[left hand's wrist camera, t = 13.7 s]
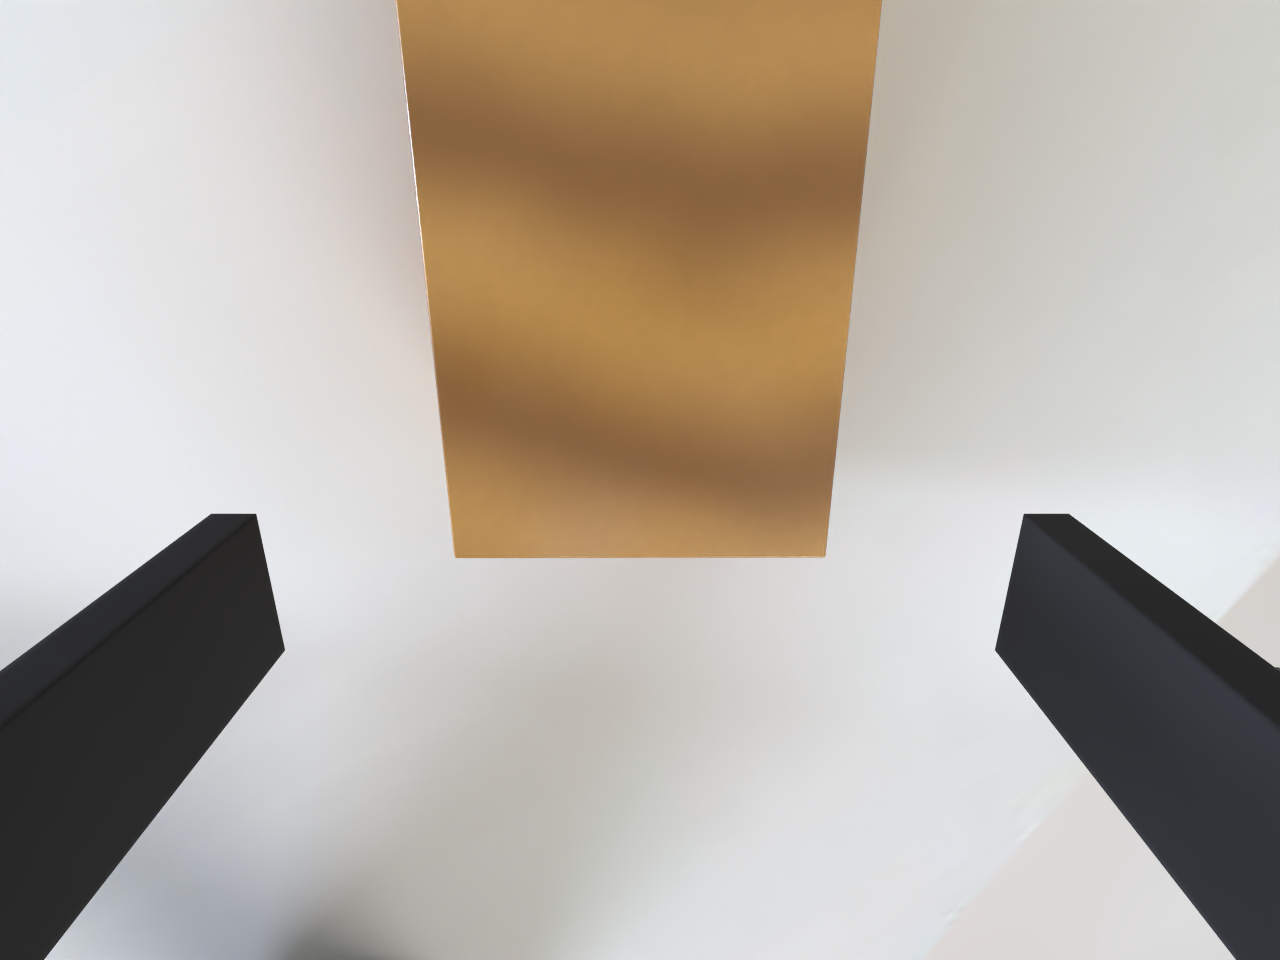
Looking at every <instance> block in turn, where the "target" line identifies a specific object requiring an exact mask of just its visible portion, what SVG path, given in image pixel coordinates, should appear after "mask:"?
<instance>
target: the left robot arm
mask: <svg viewBox="0 0 1280 960" xmlns="http://www.w3.org/2000/svg"><path fill="white" fill-rule="evenodd" d="M284 651H285V648H284V643H283V639H282V634H281V629H280V624H279V620H278V615H277V610H276V606H275V601H274V596H273V591H272V587H271V582H270V577H269V573H268V568H267V563H266V558H265V554H264V549H263V544H262V539H261V535H260V530H259V525H258V521H257V516H256V514H210V515H209V516H208V517H206V518H205V519H204V520H202V521H201V522H200V523H198V524H197V525H196V526H194V527H193V528H192V529H190V530H189V531H188V532H186V533H185V534H184V535H182V536H181V537H180V538H178V539H177V540H176V541H174V542H173V543H172V544H170V545H169V546H168V547H166V548H165V549H164V550H162V551H161V552H160V553H158V554H157V555H155V556H154V557H153V558H151V559H150V560H149V561H147V562H146V563H145V564H143V565H142V566H141V567H139V568H138V569H137V570H135V571H134V572H133V573H131V574H130V575H129V576H127V577H126V578H125V579H123V580H122V581H121V582H119V583H118V584H117V585H115V586H114V587H113V588H111V589H110V590H109V591H107V592H106V593H105V594H103V595H102V596H100V597H99V598H98V599H96V600H95V601H94V602H92V603H91V604H90V605H88V606H87V607H86V608H84V609H83V610H82V611H80V612H79V613H78V614H76V615H75V616H74V617H72V618H71V619H70V620H68V621H67V622H66V623H64V624H63V625H62V626H60V627H59V628H58V629H56V630H55V631H54V632H52V633H51V634H50V635H48V636H47V637H46V638H44V639H43V640H41V641H40V642H39V643H37V644H36V645H35V646H33V647H32V648H31V649H29V650H28V651H27V652H25V653H24V654H23V655H21V656H20V657H19V658H17V659H16V660H15V661H13V662H12V663H11V664H9V665H8V666H7V667H5V668H4V669H3V670H1V671H0V960H44V959H45V958H46V956H47V955H48V954H49V952H50V951H51V950H52V949H53V947H54V946H55V945H56V943H57V942H58V941H59V940H60V938H61V937H62V936H63V934H64V933H65V932H66V931H67V929H68V928H69V927H70V926H71V924H72V923H73V922H74V920H75V919H76V918H77V917H78V915H79V914H80V913H81V911H82V910H83V909H84V908H85V906H86V905H87V904H88V902H89V901H90V900H91V899H92V897H93V896H94V895H95V893H96V892H97V891H98V890H99V888H100V887H101V886H102V884H103V883H104V882H105V881H106V879H107V878H108V877H109V875H110V874H111V873H112V872H113V870H114V869H115V868H116V866H117V865H118V864H119V863H120V861H121V860H122V859H123V857H124V856H125V855H126V854H127V852H128V851H129V850H130V848H131V847H132V846H133V845H134V843H135V842H136V841H137V839H138V838H139V837H140V836H141V834H142V833H143V832H144V830H145V829H146V828H147V827H148V825H149V824H150V823H151V821H152V820H153V819H154V818H155V816H156V815H157V814H158V813H159V811H160V810H161V809H162V807H163V806H164V805H165V804H166V802H167V801H168V800H169V798H170V797H171V796H172V795H173V793H174V792H175V791H176V789H177V788H178V787H179V786H180V784H181V783H182V782H183V780H184V779H185V778H186V777H187V775H188V774H189V773H190V771H191V770H192V769H193V768H194V766H195V765H196V764H197V762H198V761H199V760H200V759H201V757H202V756H203V755H204V753H205V752H206V751H207V750H208V748H209V747H210V746H211V744H212V743H213V742H214V741H215V739H216V738H217V737H218V735H219V734H220V733H221V732H222V730H223V729H224V728H225V726H226V725H227V724H228V723H229V721H230V720H231V719H232V717H233V716H234V715H235V714H236V712H237V711H238V710H239V708H240V707H241V706H242V705H243V703H244V702H245V701H246V700H247V698H248V697H249V696H250V694H251V693H252V692H253V691H254V689H255V688H256V687H257V685H258V684H259V683H260V682H261V680H262V679H263V678H264V676H265V675H266V674H267V673H268V671H269V670H270V669H271V667H272V666H273V665H274V664H275V662H276V661H277V660H278V658H279V657H280V656H281V655H282V653H283V652H284ZM995 651H996V652H997V653H998V655H999V656H1000V657H1001V658H1002V660H1003V661H1004V662H1005V664H1006V665H1007V666H1008V667H1009V669H1010V670H1011V671H1012V673H1013V674H1014V675H1015V676H1016V678H1017V679H1018V680H1019V682H1020V683H1021V684H1022V685H1023V687H1024V688H1025V689H1026V691H1027V692H1028V693H1029V694H1030V696H1031V697H1032V698H1033V700H1034V701H1035V702H1036V703H1037V705H1038V706H1039V707H1040V708H1041V710H1042V711H1043V712H1044V714H1045V715H1046V716H1047V717H1048V719H1049V720H1050V721H1051V723H1052V724H1053V725H1054V726H1055V728H1056V729H1057V730H1058V732H1059V733H1060V734H1061V735H1062V737H1063V738H1064V739H1065V741H1066V742H1067V743H1068V744H1069V746H1070V747H1071V748H1072V750H1073V751H1074V752H1075V753H1076V755H1077V756H1078V757H1079V759H1080V760H1081V761H1082V762H1083V764H1084V765H1085V766H1086V768H1087V769H1088V770H1089V771H1090V773H1091V774H1092V775H1093V777H1094V778H1095V779H1096V780H1097V782H1098V783H1099V784H1100V786H1101V787H1102V788H1103V789H1104V791H1105V792H1106V793H1107V795H1108V796H1109V797H1110V798H1111V800H1112V801H1113V802H1114V803H1115V805H1116V806H1117V807H1118V809H1119V810H1120V811H1121V812H1122V814H1123V815H1124V816H1125V818H1126V819H1127V820H1128V821H1129V823H1130V824H1131V825H1132V827H1133V828H1134V829H1135V830H1136V832H1137V833H1138V834H1139V836H1140V837H1141V838H1142V839H1143V841H1144V842H1145V843H1146V845H1147V846H1148V847H1149V848H1150V850H1151V851H1152V852H1153V854H1154V855H1155V856H1156V857H1157V859H1158V860H1159V861H1160V863H1161V864H1162V865H1163V866H1164V868H1165V869H1166V870H1167V872H1168V873H1169V874H1170V875H1171V877H1172V878H1173V879H1174V881H1175V882H1176V883H1177V884H1178V886H1179V887H1180V888H1181V890H1182V891H1183V892H1184V893H1185V895H1186V896H1187V897H1188V898H1189V900H1190V901H1191V902H1192V904H1193V905H1194V906H1195V908H1196V909H1197V910H1198V911H1199V913H1200V914H1201V915H1202V917H1203V918H1204V919H1205V920H1206V922H1207V923H1208V924H1209V926H1210V927H1211V928H1212V929H1213V931H1214V932H1215V933H1216V934H1217V936H1218V937H1219V938H1220V940H1221V941H1222V942H1223V943H1224V945H1225V946H1226V947H1227V949H1228V950H1229V951H1230V952H1231V954H1232V955H1233V956H1234V958H1235V959H1236V960H1280V668H1279V667H1276V668H1275V667H1273V666H1272V665H1271V664H1269V663H1268V662H1267V661H1265V660H1264V659H1263V658H1261V657H1260V656H1259V655H1257V654H1256V653H1255V652H1253V651H1252V650H1251V649H1249V648H1248V647H1246V646H1245V645H1244V644H1243V643H1241V642H1240V641H1239V640H1237V639H1236V638H1234V637H1233V636H1232V635H1230V634H1229V633H1228V632H1226V631H1225V630H1224V629H1222V628H1221V627H1220V626H1218V625H1217V624H1216V623H1214V622H1213V621H1212V620H1210V619H1209V618H1208V617H1206V616H1205V615H1204V614H1202V613H1201V612H1200V611H1198V610H1197V609H1196V608H1194V607H1193V606H1192V605H1190V604H1189V603H1188V602H1186V601H1185V600H1184V599H1182V598H1181V597H1180V596H1178V595H1177V594H1175V593H1174V592H1173V591H1171V590H1170V589H1169V588H1167V587H1166V586H1165V585H1163V584H1162V583H1161V582H1159V581H1158V580H1157V579H1155V578H1154V577H1153V576H1151V575H1150V574H1149V573H1147V572H1146V571H1145V570H1143V569H1142V568H1141V567H1139V566H1138V565H1137V564H1135V563H1134V562H1133V561H1131V560H1130V559H1129V558H1127V557H1126V556H1125V555H1123V554H1122V553H1120V552H1119V551H1118V550H1116V549H1115V548H1114V547H1112V546H1111V545H1110V544H1108V543H1107V542H1106V541H1104V540H1103V539H1102V538H1100V537H1099V536H1098V535H1096V534H1095V533H1094V532H1092V531H1091V530H1090V529H1088V528H1087V527H1086V526H1084V525H1083V524H1082V523H1080V522H1079V521H1078V520H1076V519H1075V518H1074V517H1072V516H1071V515H1070V514H1024V516H1023V520H1022V525H1021V530H1020V535H1019V539H1018V544H1017V549H1016V554H1015V558H1014V563H1013V568H1012V572H1011V577H1010V582H1009V587H1008V591H1007V596H1006V601H1005V606H1004V610H1003V615H1002V620H1001V624H1000V629H999V634H998V639H997V643H996V648H995Z"/></svg>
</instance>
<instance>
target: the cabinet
mask: <svg viewBox="0 0 1280 960" xmlns="http://www.w3.org/2000/svg"><path fill="white" fill-rule="evenodd" d="M395 2H396V11H397V20H398V30H399V39H400V48H401V58H402V67H403V77H404V86H405V95H406V105H407V114H408V124H409V133H410V142H411V152H412V161H413V171H414V180H415V189H416V199H417V208H418V218H419V227H420V236H421V246H422V255H423V264H424V274H425V283H426V293H427V302H428V311H429V321H430V330H431V340H432V349H433V358H434V368H435V377H436V387H437V396H438V405H439V415H440V424H441V433H442V443H443V452H444V462H445V471H446V480H447V490H448V499H449V509H450V518H451V527H452V537H453V546H454V556H455V558H756V557H825V555H826V546H827V536H828V526H829V516H830V506H831V497H832V487H833V477H834V467H835V457H836V448H837V438H838V428H839V418H840V408H841V399H842V389H843V379H844V369H845V359H846V349H847V340H848V330H849V320H850V310H851V300H852V291H853V281H854V271H855V261H856V251H857V242H858V232H859V222H860V212H861V202H862V193H863V183H864V173H865V163H866V153H867V144H868V134H869V124H870V114H871V104H872V94H873V85H874V75H875V65H876V55H877V45H878V36H879V26H880V16H881V6H882V0H395Z"/></svg>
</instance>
